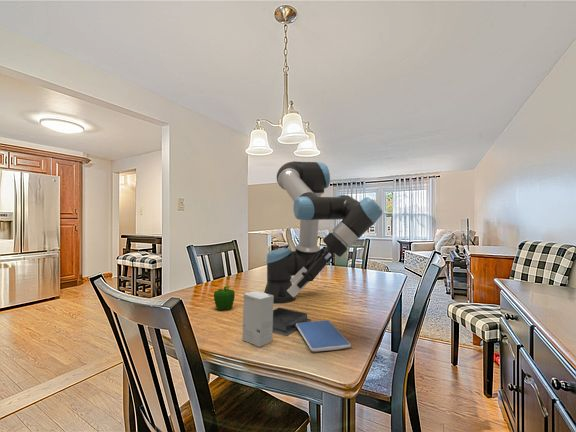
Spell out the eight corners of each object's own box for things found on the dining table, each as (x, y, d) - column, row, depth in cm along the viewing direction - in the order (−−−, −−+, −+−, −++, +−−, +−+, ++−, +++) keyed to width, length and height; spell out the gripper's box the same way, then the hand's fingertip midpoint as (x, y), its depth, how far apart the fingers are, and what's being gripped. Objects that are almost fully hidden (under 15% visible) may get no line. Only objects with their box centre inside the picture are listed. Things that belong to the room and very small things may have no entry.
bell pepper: (210, 309, 125) (210, 285, 125) (226, 304, 131) (226, 282, 131) (221, 313, 119) (221, 288, 119) (238, 308, 125) (237, 285, 125)
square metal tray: (252, 326, 104) (251, 318, 104) (278, 313, 118) (278, 306, 118) (286, 336, 96) (286, 326, 96) (311, 321, 109) (311, 313, 109)
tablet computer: (294, 326, 102) (294, 322, 102) (328, 322, 105) (329, 319, 105) (311, 353, 83) (311, 349, 83) (352, 349, 86) (352, 344, 86)
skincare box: (242, 340, 93) (241, 293, 93) (255, 334, 97) (255, 289, 97) (260, 348, 87) (260, 298, 87) (274, 341, 92) (274, 294, 92)
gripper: (354, 253, 78) (298, 309, 79) (343, 244, 103) (301, 287, 104) (334, 233, 78) (279, 289, 79) (328, 229, 103) (286, 272, 104)
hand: (291, 288), depth 91 cm, fingers open, 13 cm apart
